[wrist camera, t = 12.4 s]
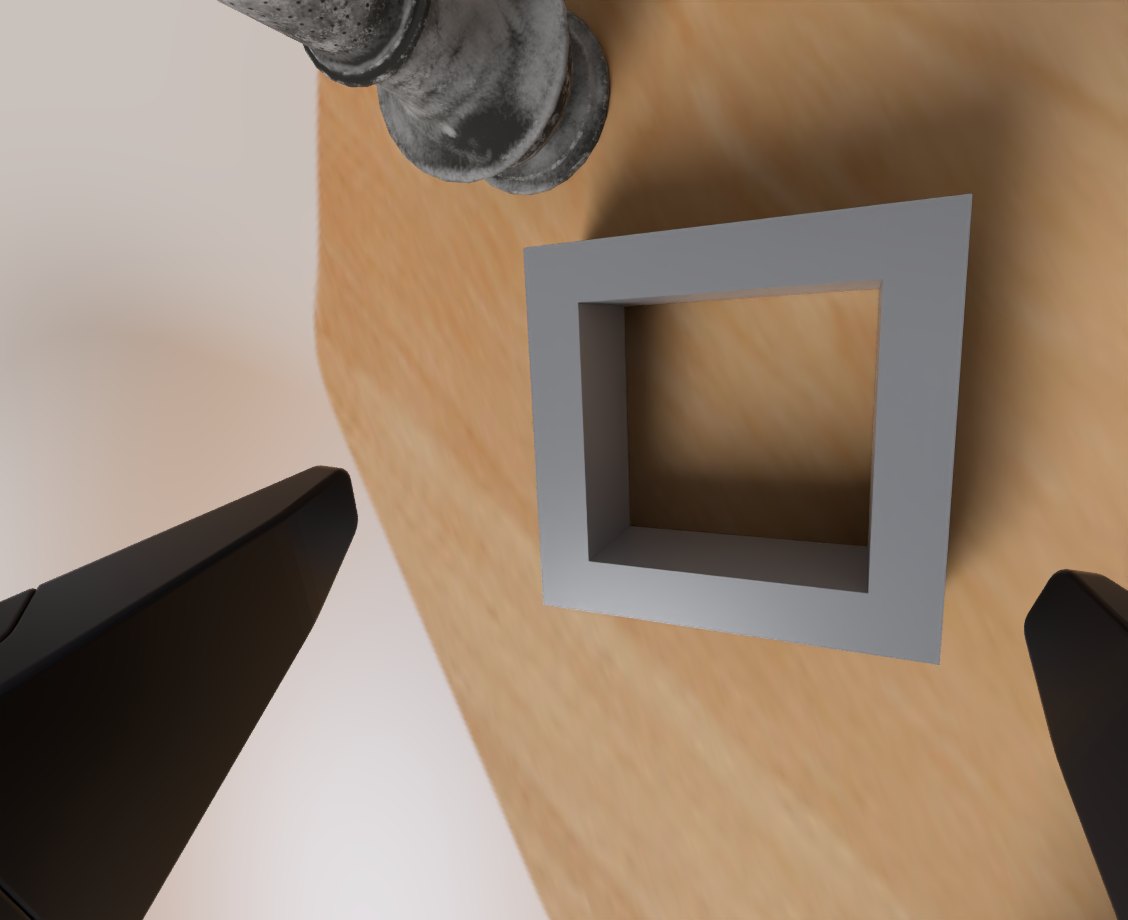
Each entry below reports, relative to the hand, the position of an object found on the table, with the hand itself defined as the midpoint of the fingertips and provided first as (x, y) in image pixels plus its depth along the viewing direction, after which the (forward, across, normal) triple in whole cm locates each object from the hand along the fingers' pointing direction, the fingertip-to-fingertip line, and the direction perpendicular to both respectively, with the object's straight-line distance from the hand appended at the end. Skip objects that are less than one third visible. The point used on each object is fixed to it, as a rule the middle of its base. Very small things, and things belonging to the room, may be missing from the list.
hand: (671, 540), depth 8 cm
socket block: (+10, -2, +4) cm, 11 cm away
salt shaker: (+15, +5, -4) cm, 17 cm away
